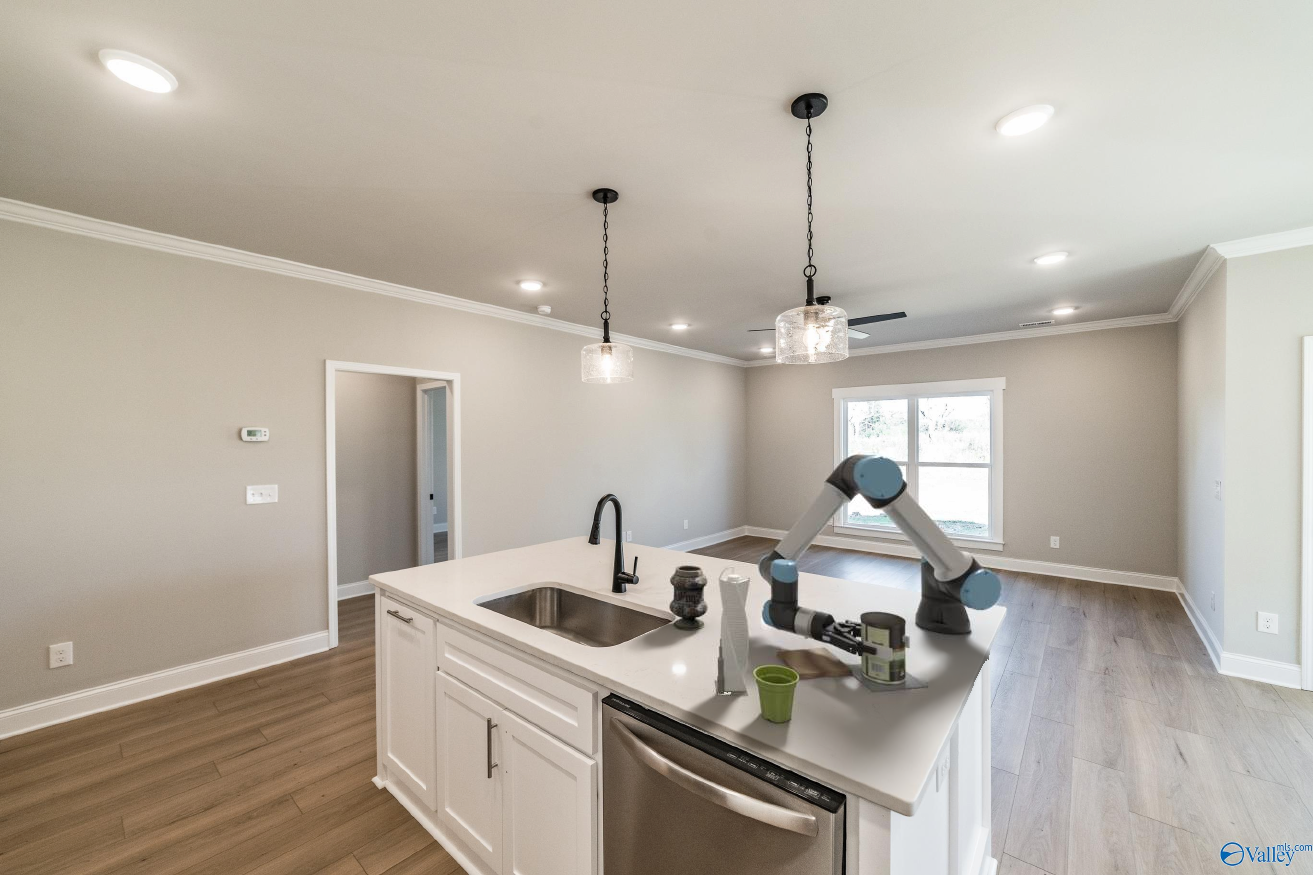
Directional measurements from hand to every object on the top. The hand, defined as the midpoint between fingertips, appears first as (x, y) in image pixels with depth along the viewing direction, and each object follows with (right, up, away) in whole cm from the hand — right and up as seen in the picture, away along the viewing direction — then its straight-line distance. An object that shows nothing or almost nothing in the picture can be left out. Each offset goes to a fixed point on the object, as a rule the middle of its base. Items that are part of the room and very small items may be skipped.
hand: (900, 648), depth 125 cm
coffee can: (-3, -8, +3) cm, 9 cm away
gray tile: (-3, -8, +3) cm, 9 cm away
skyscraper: (-41, -9, -2) cm, 42 cm away
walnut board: (-18, -8, +10) cm, 22 cm away
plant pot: (-33, -8, -15) cm, 38 cm away
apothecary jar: (-49, -9, +39) cm, 63 cm away
